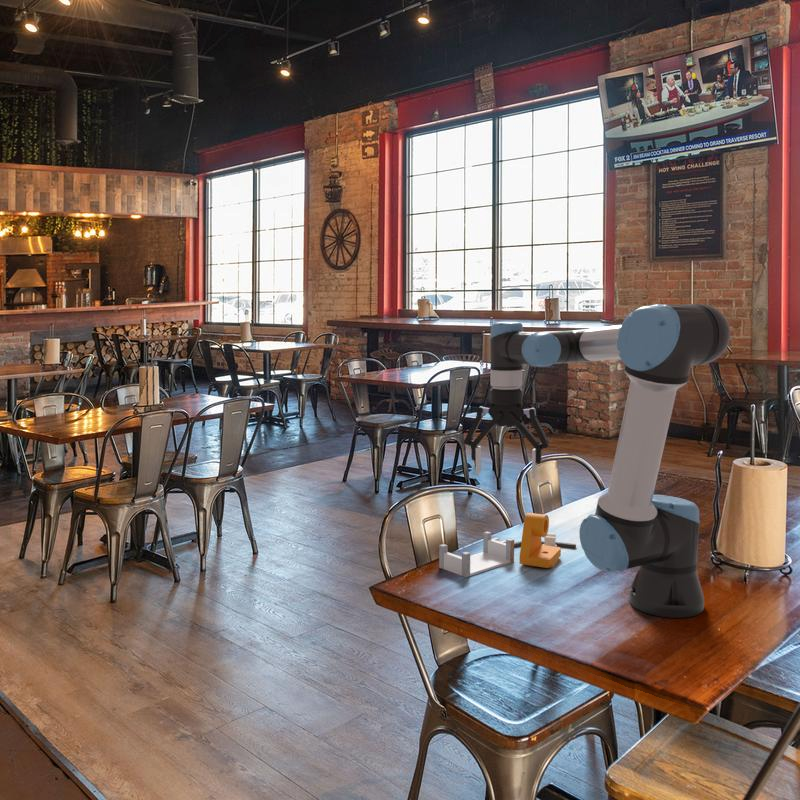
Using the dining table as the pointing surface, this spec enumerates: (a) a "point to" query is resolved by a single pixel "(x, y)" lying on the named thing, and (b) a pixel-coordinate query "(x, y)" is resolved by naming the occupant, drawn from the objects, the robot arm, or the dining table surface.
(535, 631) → the dining table surface
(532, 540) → the bracket
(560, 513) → the dining table surface
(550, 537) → the cable route
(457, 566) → the holder
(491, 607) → the dining table surface
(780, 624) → the dining table surface
